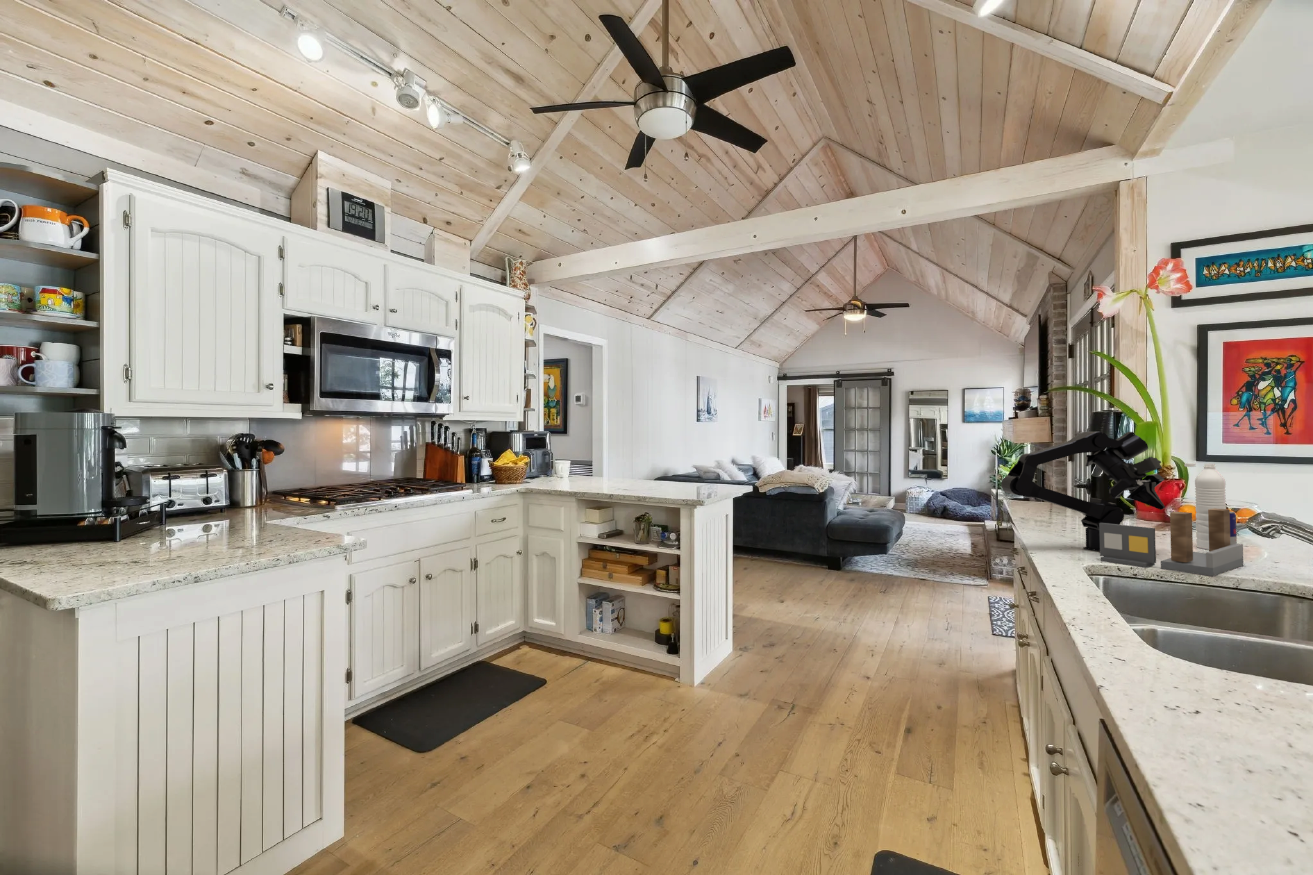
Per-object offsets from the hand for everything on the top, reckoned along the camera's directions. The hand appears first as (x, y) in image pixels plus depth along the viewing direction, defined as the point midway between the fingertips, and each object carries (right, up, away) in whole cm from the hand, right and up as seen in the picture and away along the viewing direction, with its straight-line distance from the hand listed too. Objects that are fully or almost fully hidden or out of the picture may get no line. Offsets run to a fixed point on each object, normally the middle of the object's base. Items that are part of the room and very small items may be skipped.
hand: (1163, 508), depth 159 cm
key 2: (+6, -11, -9) cm, 16 cm away
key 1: (-7, -11, -14) cm, 19 cm away
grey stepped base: (0, -14, -12) cm, 18 cm away
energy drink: (+18, -13, +2) cm, 23 cm away
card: (-14, -14, -5) cm, 21 cm away
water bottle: (+22, -13, +11) cm, 28 cm away
